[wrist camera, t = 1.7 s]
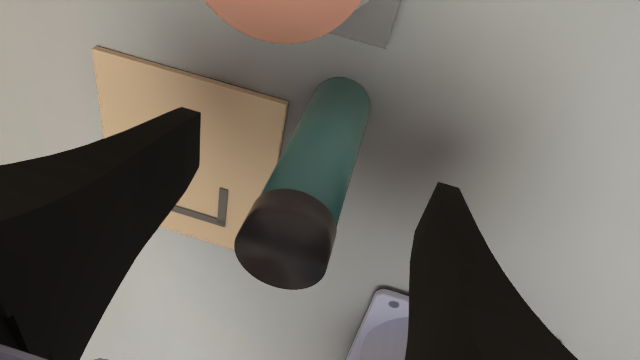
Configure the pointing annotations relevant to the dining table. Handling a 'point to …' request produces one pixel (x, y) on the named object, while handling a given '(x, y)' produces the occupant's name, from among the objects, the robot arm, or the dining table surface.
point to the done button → (284, 17)
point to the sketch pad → (215, 137)
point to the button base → (370, 22)
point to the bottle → (306, 191)
